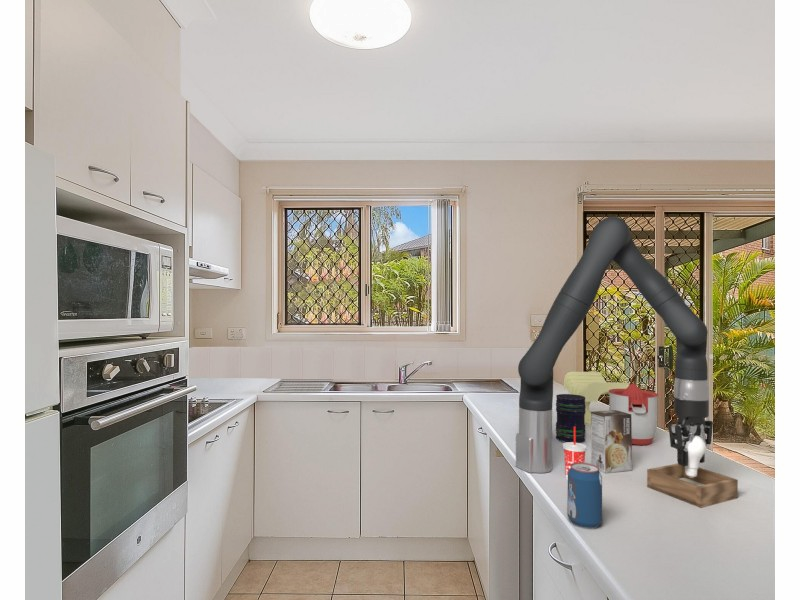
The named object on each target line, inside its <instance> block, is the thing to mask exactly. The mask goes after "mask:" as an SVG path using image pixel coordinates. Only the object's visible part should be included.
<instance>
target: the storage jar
mask: <svg viewBox="0 0 800 600" xmlns="http://www.w3.org/2000/svg"><path fill="white" fill-rule="evenodd" d="M555 396H556V397H555V398H556V400H555V412H556V422H555V434H556V436H555V439H556V440H558V441H559V442H564V443H566V442H574V426H575V427H576V443H581V444H583V443H584V442H586V438H585V437H586V423H584V422H585V412H586V411H585V408H586V405H585V397H584V396H580V395H573V394H569V393H562V394H556V395H555Z"/></svg>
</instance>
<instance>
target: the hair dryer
mask: <svg viewBox="0 0 800 600" xmlns="http://www.w3.org/2000/svg"><path fill="white" fill-rule="evenodd" d="M629 385H630V384H629V382H608V381H606V380H605V378H604V376H603V374H602V372H601V371H568V372H567V373H566V374H565V375H564V378H563V389H566V390H567V391H568V394H573V395H580V396H584V397H585V405H586V408H585V411H586V412H585V422H584V424H590V425H591V412H592V410H591V411H590V404H591V403H598V400H599V398H600V397H601V395H609V390H611V389H626V388H627V387H628V386H629Z"/></svg>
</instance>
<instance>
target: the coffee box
mask: <svg viewBox="0 0 800 600" xmlns="http://www.w3.org/2000/svg"><path fill="white" fill-rule="evenodd" d="M590 431H591V432H590V435H591V436H590V440H591V441H590V443H591V445H590V449H591V451H590V455H591V456H590V457H591V458H590V459H591V461H590V464H593V465H595V466H597V467H598V468H599V472H600V471H601V472H602V473H605V474H609V473H619V472H628V471H629V472H630V471H633V453H632V452H633V451H632V450H633V449H632V448H633V447H632V446H633V444H632V421H631V414H628V413H625V412H621V411H617V410H611V411H609V410H595V411H591V424H590Z"/></svg>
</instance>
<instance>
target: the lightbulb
mask: <svg viewBox="0 0 800 600" xmlns="http://www.w3.org/2000/svg"><path fill="white" fill-rule="evenodd" d="M682 437H684V436H683V435H682ZM684 438H687V437H684ZM684 442H685V441H682V443H683V446H684ZM706 449H707V446H706V445H705V442H704V441H703V440H702V438H700V437H699V436H693V440H692V443H690V444H689V447H688V450H687V451H688V466H685V473H686V475H687V476H689V477H690V478H694V477H696V476H697V472H698V471H697V470H698V468H700V459H701V458H702V456H703V455H704V453H705V454H706V452H707V451H706Z"/></svg>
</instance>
